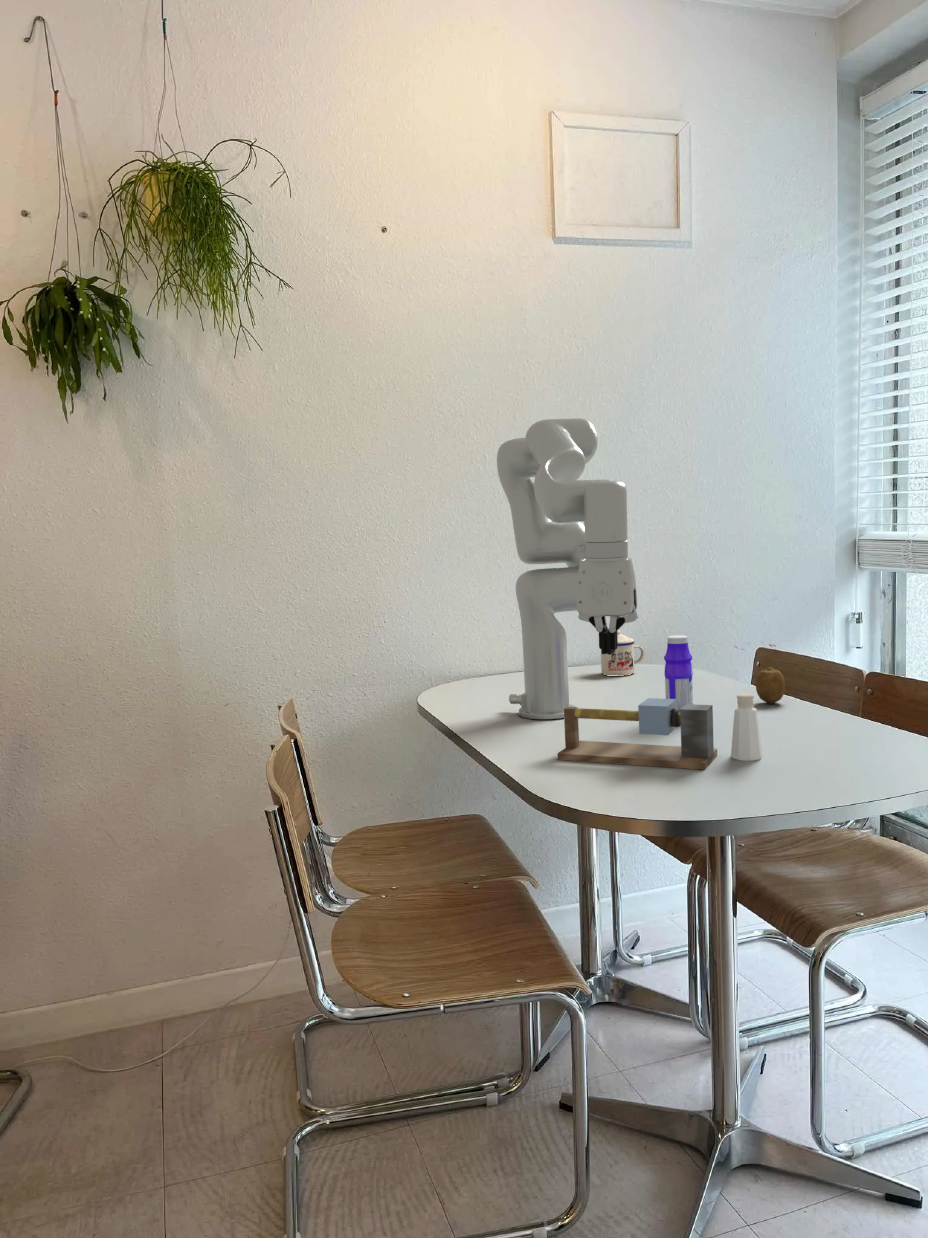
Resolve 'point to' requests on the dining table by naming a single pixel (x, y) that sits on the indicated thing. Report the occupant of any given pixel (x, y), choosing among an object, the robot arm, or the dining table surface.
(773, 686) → the fruit
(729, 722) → the dining table surface
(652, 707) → the sleeve
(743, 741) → the pepper shaker
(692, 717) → the rod stand
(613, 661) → the teacup with lid
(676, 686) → the bottle
